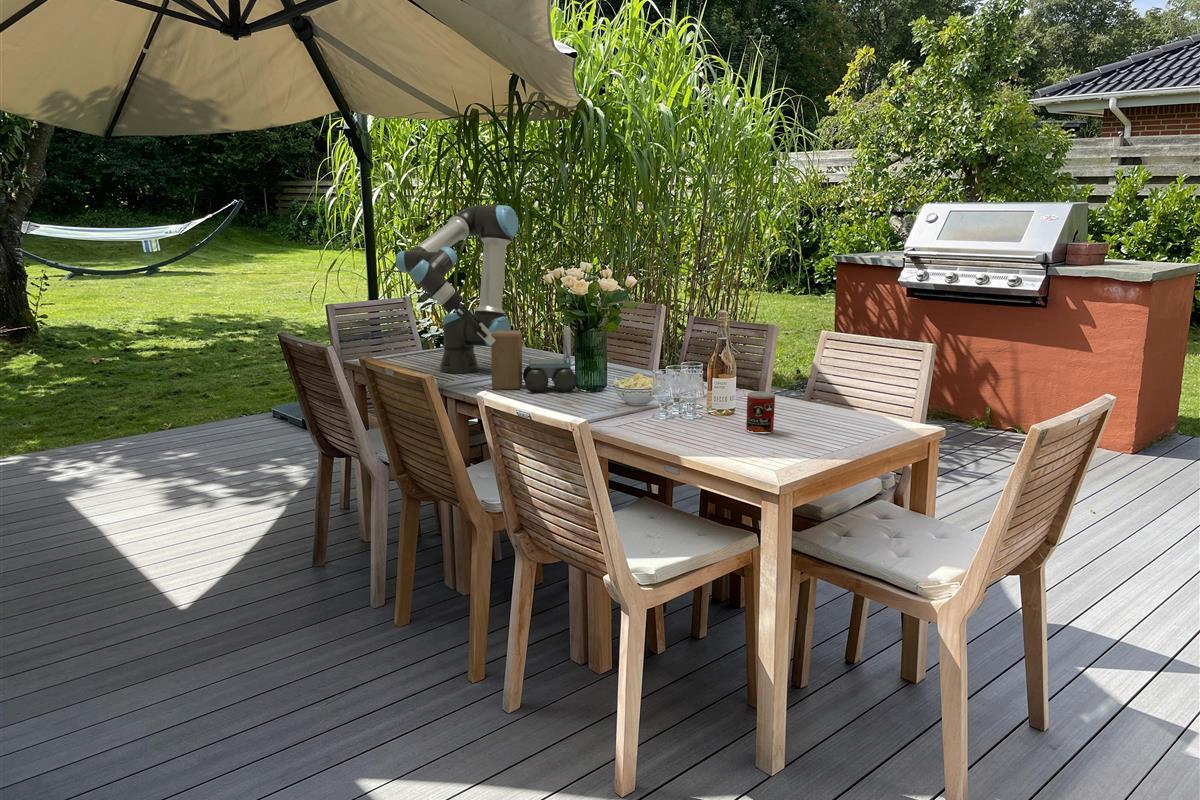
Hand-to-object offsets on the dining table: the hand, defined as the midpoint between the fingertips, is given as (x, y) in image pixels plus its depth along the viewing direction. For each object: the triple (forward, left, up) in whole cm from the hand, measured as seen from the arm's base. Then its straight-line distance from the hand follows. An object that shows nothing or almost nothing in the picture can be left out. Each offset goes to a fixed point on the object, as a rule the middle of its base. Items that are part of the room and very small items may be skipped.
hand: (492, 340), depth 324 cm
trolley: (+6, +20, -17) cm, 27 cm away
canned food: (+78, +74, -17) cm, 108 cm away
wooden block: (+1, +5, -17) cm, 18 cm away
